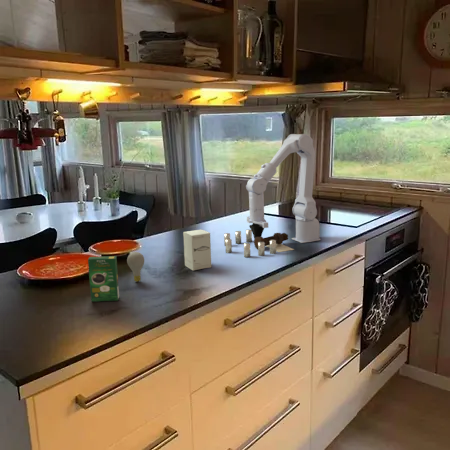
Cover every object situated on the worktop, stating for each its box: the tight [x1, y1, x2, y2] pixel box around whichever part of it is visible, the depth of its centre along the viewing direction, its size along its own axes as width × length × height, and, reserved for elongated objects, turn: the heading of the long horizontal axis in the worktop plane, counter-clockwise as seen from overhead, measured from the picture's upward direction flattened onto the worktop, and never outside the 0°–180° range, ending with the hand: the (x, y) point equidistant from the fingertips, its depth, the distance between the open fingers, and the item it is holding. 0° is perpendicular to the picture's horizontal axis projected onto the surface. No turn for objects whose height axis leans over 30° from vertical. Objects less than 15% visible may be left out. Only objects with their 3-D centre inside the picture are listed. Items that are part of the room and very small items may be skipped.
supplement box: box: [182, 229, 212, 271], centre depth 161 cm, size 7×7×13 cm
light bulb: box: [126, 251, 145, 283], centre depth 147 cm, size 6×6×10 cm
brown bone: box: [253, 232, 289, 251], centre depth 184 cm, size 6×5×15 cm
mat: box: [265, 243, 295, 253], centre depth 186 cm, size 7×20×1 cm, turn 24°
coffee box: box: [87, 255, 120, 303], centre depth 133 cm, size 8×3×13 cm, turn 93°
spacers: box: [223, 229, 277, 258], centre depth 181 cm, size 16×22×5 cm
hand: (257, 242), depth 183 cm, fingers closed, pressing on brown bone
